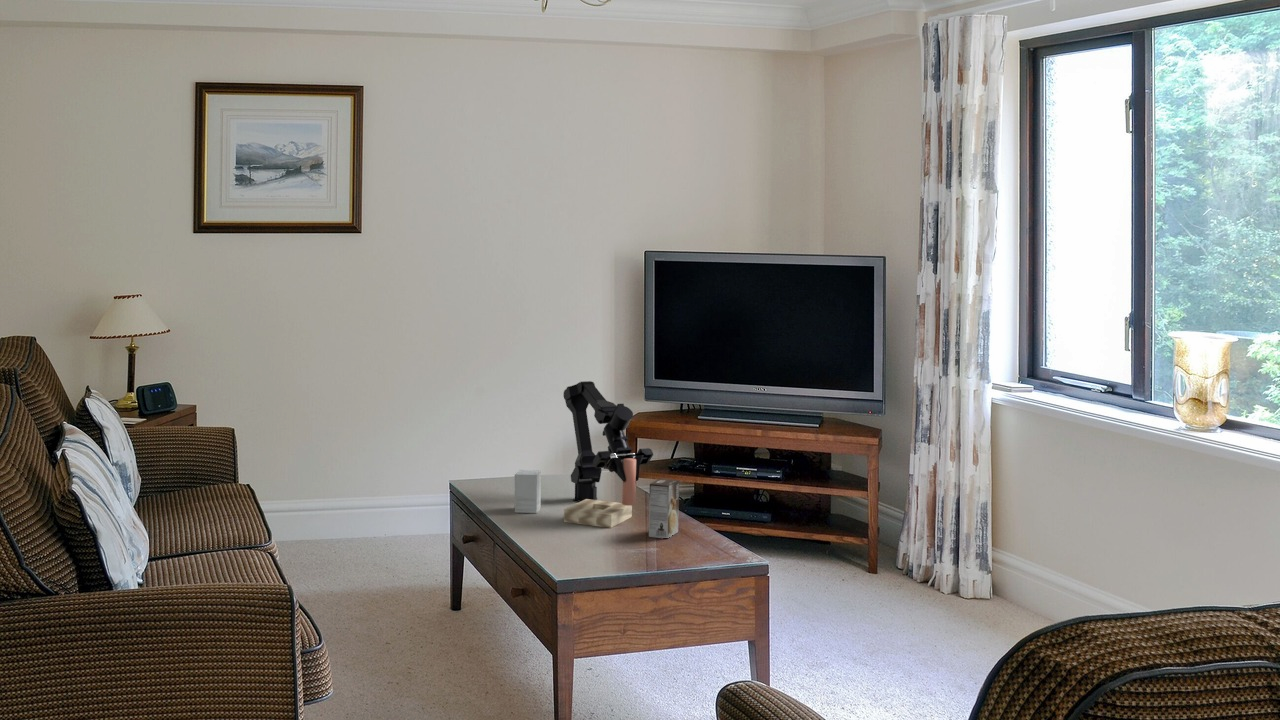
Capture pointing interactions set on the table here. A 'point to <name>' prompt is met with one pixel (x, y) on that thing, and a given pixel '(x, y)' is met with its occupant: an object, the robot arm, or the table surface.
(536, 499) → the supplement box
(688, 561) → the table surface
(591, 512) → the socket board
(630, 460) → the peg
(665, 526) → the white food box
